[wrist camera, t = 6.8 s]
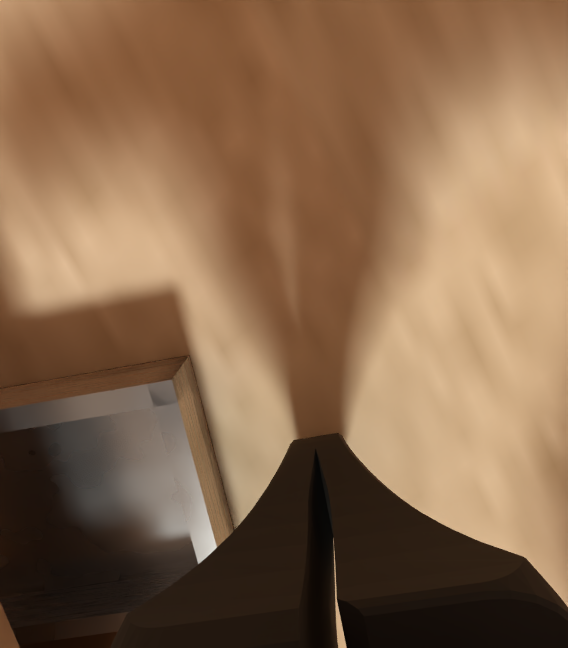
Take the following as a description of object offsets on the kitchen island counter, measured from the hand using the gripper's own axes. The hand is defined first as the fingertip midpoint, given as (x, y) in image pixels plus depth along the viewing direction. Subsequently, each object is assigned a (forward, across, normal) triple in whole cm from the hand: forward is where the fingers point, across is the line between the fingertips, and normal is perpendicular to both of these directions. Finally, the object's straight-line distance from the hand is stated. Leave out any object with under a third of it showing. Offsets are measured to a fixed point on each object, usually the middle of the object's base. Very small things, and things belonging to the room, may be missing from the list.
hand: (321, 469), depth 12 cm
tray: (+1, +8, 0) cm, 8 cm away
